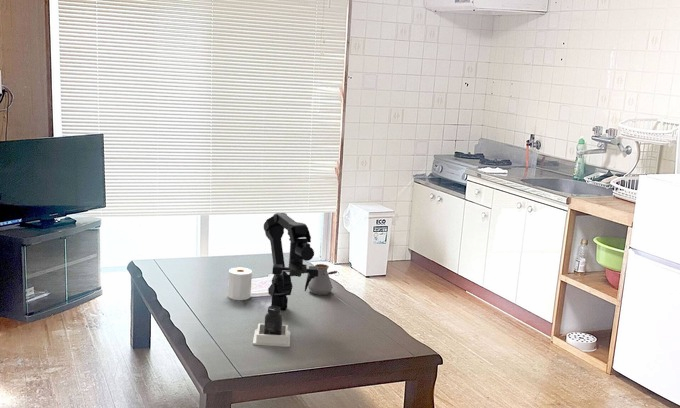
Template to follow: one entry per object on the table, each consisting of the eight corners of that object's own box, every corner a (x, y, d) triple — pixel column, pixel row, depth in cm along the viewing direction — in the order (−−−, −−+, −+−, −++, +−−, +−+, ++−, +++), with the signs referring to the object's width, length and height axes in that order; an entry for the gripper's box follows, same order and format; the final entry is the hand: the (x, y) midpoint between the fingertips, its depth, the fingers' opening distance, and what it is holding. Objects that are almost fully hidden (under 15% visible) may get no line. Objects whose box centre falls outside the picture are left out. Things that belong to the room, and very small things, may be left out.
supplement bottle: (284, 337, 283) (286, 308, 281) (271, 341, 279) (273, 312, 276) (273, 332, 288) (275, 303, 286) (260, 335, 283) (261, 306, 281)
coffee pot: (303, 289, 344) (305, 258, 341) (325, 287, 349) (327, 257, 346) (323, 304, 326) (325, 272, 323) (346, 302, 331) (348, 270, 328)
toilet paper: (235, 301, 320) (237, 275, 318) (223, 294, 328) (224, 269, 325) (255, 298, 327) (256, 272, 324) (242, 291, 334) (243, 266, 332)
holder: (252, 344, 276) (253, 335, 275) (254, 330, 290) (255, 322, 289) (289, 346, 277) (290, 337, 276) (290, 332, 291) (290, 324, 290)
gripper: (273, 258, 290) (270, 295, 293) (319, 260, 291) (317, 298, 295) (274, 250, 301) (271, 286, 304) (319, 253, 302) (316, 289, 305)
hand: (294, 290), depth 302 cm, fingers open, 9 cm apart
